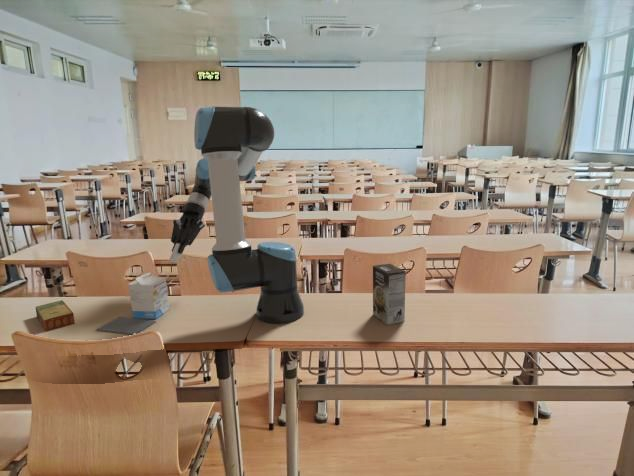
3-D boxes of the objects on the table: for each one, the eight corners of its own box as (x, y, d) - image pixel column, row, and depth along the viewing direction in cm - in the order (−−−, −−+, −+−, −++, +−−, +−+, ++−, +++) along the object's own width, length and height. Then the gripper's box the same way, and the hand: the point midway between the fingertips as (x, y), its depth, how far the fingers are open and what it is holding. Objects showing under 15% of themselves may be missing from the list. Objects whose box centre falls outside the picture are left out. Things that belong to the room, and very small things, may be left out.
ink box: (155, 319, 136) (150, 279, 133) (132, 318, 137) (126, 279, 134) (170, 309, 144) (165, 271, 141) (147, 308, 146) (143, 270, 143)
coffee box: (372, 314, 134) (371, 265, 131) (389, 310, 136) (389, 262, 133) (387, 325, 126) (387, 273, 122) (405, 321, 128) (406, 270, 125)
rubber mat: (155, 322, 134) (155, 321, 134) (134, 335, 125) (134, 333, 125) (119, 317, 138) (119, 316, 138) (97, 330, 129) (96, 328, 129)
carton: (45, 332, 130) (43, 319, 129) (36, 317, 141) (34, 305, 140) (75, 324, 135) (73, 311, 134) (64, 310, 147) (62, 299, 146)
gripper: (214, 213, 164) (193, 266, 153) (186, 212, 168) (163, 264, 157) (205, 201, 158) (183, 256, 147) (176, 201, 162) (152, 254, 151)
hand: (173, 260), depth 152 cm, fingers closed
